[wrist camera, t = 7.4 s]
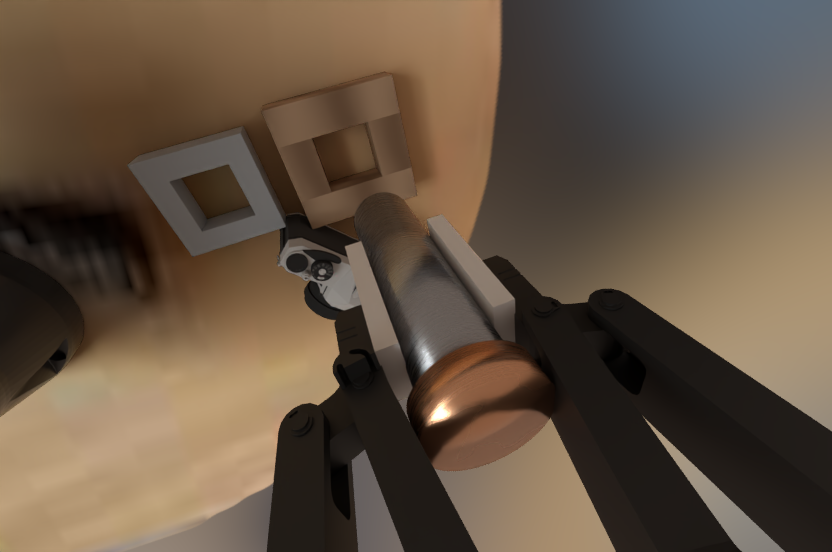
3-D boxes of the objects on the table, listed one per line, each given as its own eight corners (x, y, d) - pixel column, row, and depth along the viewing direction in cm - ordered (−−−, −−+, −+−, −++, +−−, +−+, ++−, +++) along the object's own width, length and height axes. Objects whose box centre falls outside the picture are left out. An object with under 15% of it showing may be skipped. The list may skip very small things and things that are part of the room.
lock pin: (358, 259, 21) (433, 487, 10) (336, 198, 18) (404, 415, 8) (422, 238, 21) (554, 435, 11) (408, 175, 19) (561, 352, 8)
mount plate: (198, 242, 32) (192, 256, 30) (138, 155, 27) (126, 165, 25) (285, 215, 33) (286, 226, 31) (243, 126, 28) (240, 133, 26)
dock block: (310, 217, 34) (312, 229, 32) (262, 105, 27) (261, 111, 26) (409, 185, 35) (417, 195, 33) (384, 71, 29) (392, 74, 27)
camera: (253, 269, 35) (254, 333, 28) (284, 202, 32) (294, 255, 25) (366, 299, 42) (388, 355, 36) (400, 246, 40) (430, 296, 33)
